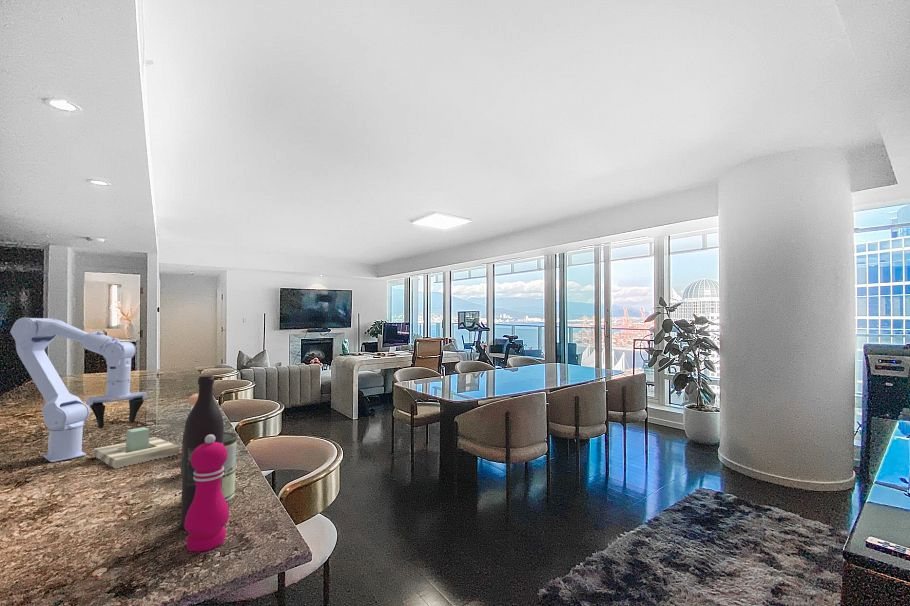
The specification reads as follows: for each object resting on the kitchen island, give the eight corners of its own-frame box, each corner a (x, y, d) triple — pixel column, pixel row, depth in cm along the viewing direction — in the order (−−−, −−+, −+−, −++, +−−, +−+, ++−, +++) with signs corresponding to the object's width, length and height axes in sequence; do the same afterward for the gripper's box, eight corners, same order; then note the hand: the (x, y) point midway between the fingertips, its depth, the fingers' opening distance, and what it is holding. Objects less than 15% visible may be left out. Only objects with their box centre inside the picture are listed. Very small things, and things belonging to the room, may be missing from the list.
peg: (125, 456, 126) (126, 429, 127) (142, 452, 130) (143, 427, 131) (130, 459, 124) (132, 432, 124) (148, 455, 128) (149, 429, 128)
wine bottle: (178, 534, 80) (184, 379, 81) (182, 519, 86) (188, 375, 88) (219, 526, 83) (225, 377, 85) (221, 512, 89) (226, 373, 91)
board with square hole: (94, 456, 126) (94, 448, 126) (155, 444, 139) (155, 436, 139) (115, 469, 115) (115, 459, 116) (178, 454, 129) (179, 446, 129)
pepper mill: (196, 533, 80) (200, 429, 81) (235, 532, 81) (238, 429, 82) (174, 554, 73) (179, 440, 74) (217, 552, 74) (221, 439, 75)
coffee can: (179, 511, 90) (182, 445, 91) (189, 493, 99) (191, 434, 100) (233, 503, 94) (235, 440, 95) (237, 487, 103) (239, 430, 104)
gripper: (92, 384, 120) (90, 431, 119) (151, 379, 132) (149, 422, 131) (85, 382, 124) (82, 428, 123) (142, 377, 136) (140, 419, 135)
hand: (116, 425), depth 127 cm, fingers open, 7 cm apart
